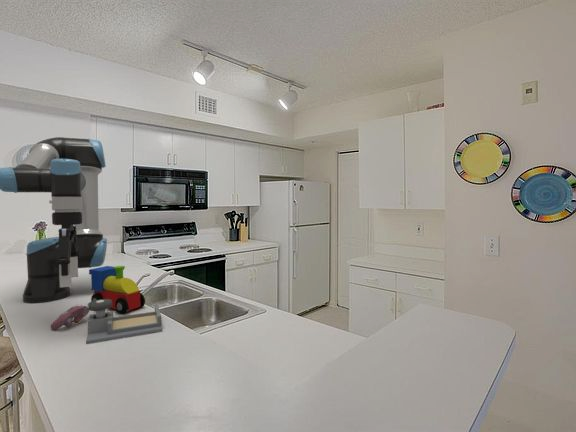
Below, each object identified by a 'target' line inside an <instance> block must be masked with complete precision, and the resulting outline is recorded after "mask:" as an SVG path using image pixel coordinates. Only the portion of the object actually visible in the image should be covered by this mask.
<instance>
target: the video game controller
mask: <svg viewBox="0 0 576 432" xmlns="http://www.w3.org/2000/svg"><path fill="white" fill-rule="evenodd" d="M89 312H90V310H88V306H85V305H83V304H81V305H75V306H72V307H70V308H69V309H67V310H65V311H63V312H62V313H61V314H60V315H59V316H58V317H57V318H56V319H54V321H52V322H51V324H50V329H51V330H52V331H57V330H59V329H60V328H62V327H63V326H64V327H65V328H67V329H68V328H71V326H72V325H73V324H76V325H77V324H79V323H80V322H81V321H82V319H84V318H85V317H86V316H87V315H88V314H89Z"/></svg>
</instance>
